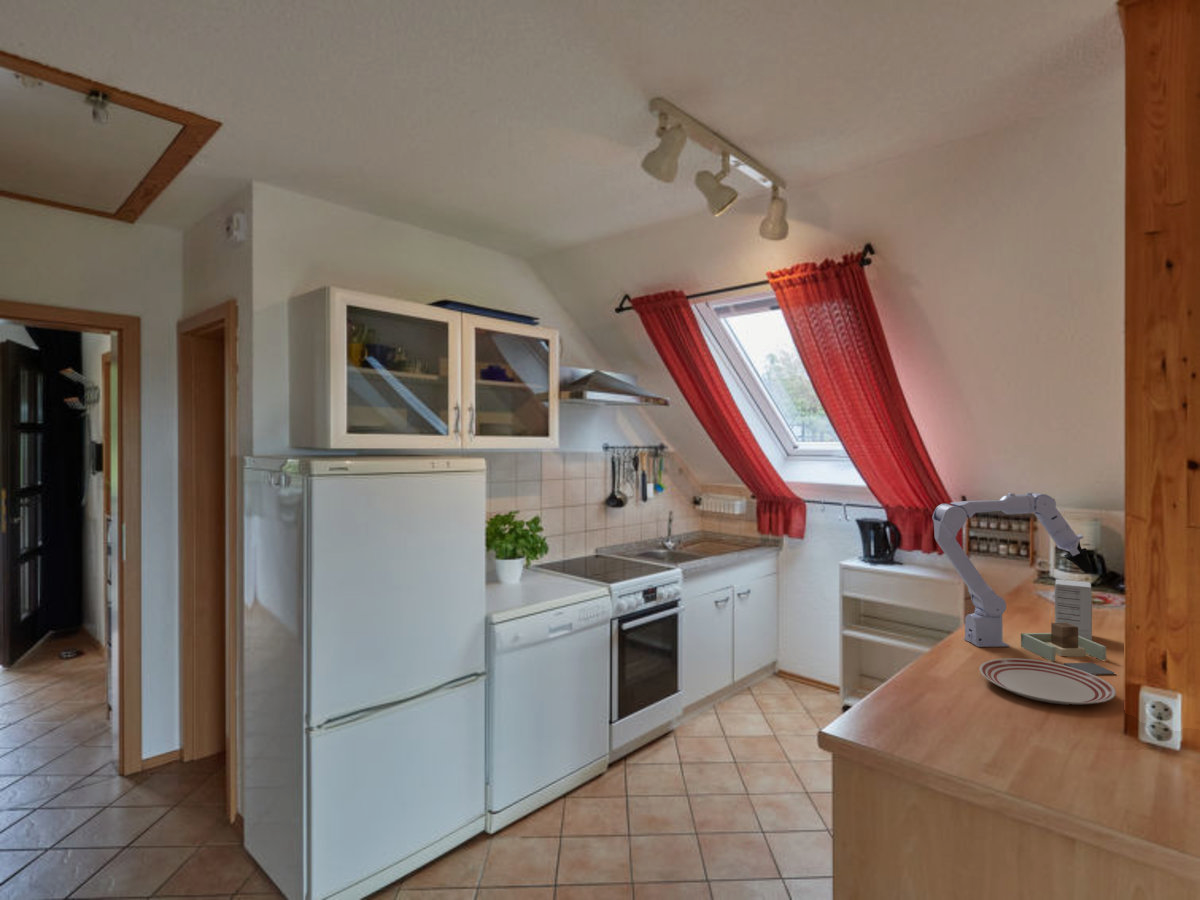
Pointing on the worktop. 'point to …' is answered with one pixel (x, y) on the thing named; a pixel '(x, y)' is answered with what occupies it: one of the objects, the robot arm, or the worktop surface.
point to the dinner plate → (1047, 681)
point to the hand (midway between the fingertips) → (1086, 567)
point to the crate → (1046, 649)
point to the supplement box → (1074, 605)
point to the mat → (1089, 668)
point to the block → (1064, 635)
